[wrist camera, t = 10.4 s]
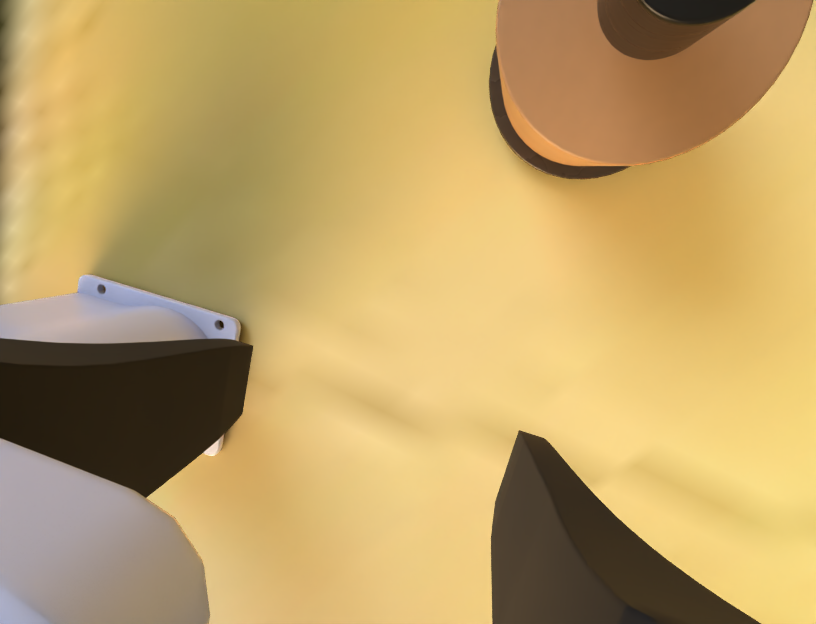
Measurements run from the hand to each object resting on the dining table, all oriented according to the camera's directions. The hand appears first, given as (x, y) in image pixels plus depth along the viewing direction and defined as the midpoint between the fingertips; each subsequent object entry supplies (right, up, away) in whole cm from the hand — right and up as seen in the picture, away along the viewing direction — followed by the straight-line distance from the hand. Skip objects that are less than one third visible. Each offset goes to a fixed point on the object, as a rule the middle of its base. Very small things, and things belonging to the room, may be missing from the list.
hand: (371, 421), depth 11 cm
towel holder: (+8, +12, +6) cm, 16 cm away
